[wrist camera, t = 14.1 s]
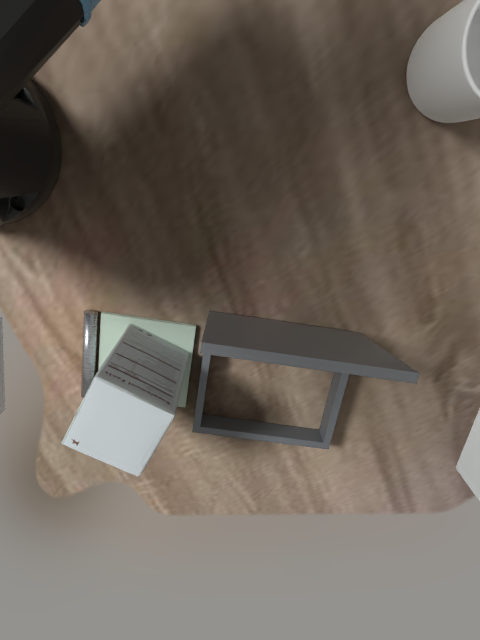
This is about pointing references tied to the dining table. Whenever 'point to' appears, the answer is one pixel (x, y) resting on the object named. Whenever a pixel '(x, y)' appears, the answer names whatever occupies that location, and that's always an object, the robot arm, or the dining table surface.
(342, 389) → the grey square frame
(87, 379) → the rod
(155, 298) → the dining table surface
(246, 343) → the lid
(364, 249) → the dining table surface
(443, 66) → the mug
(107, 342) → the mat
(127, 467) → the supplement box
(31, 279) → the dining table surface
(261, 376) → the dining table surface
